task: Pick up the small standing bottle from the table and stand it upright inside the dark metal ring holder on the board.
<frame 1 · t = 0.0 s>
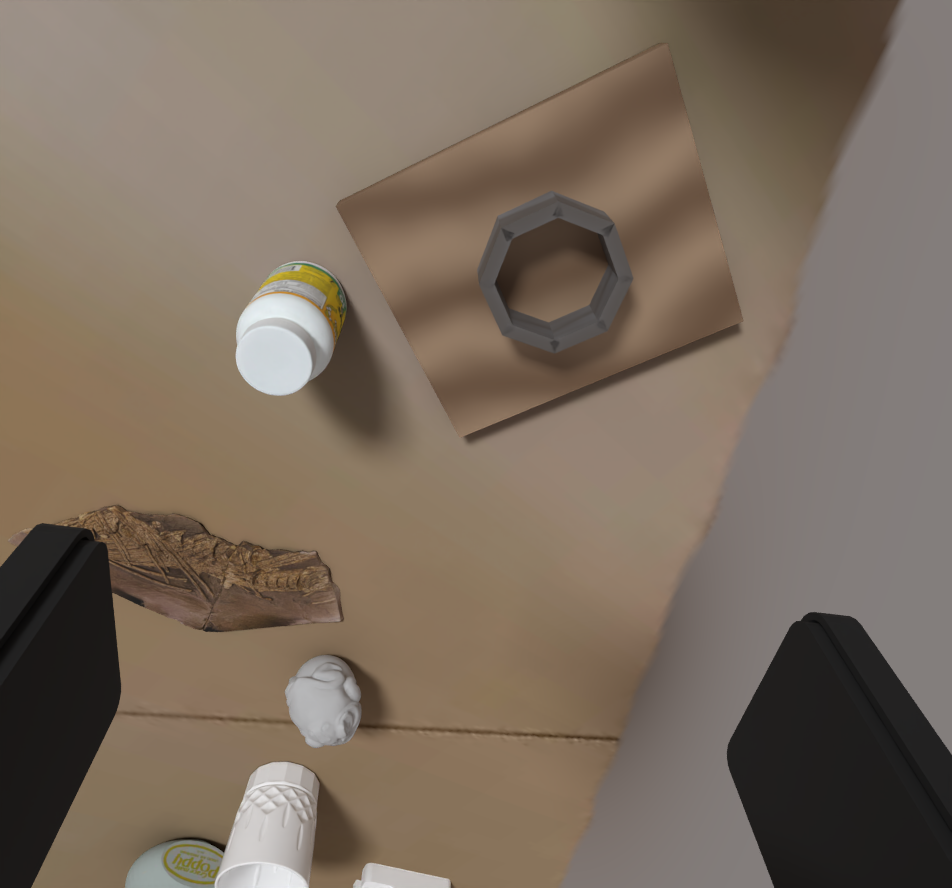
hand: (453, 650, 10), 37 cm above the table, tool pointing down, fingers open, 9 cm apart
air freshener: (192, 853, 75), on the table
wooden fragment: (186, 567, 57), on the table
cable organizer: (402, 881, 79), on the table
grey lumpy rounded piece: (330, 663, 62), on the table
holder: (546, 259, 45), on the table
white cup: (285, 780, 70), on the table
supplement bottle: (306, 300, 46), on the table
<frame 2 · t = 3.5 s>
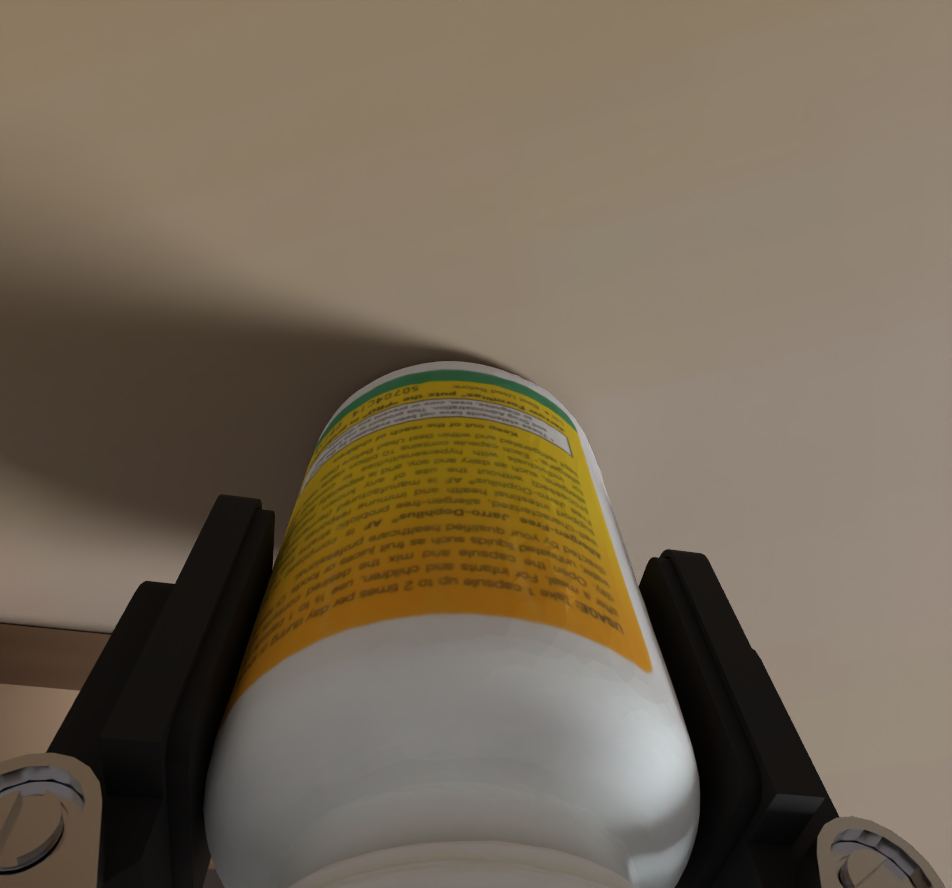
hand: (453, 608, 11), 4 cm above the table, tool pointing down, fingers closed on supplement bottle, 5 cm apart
supplement bottle: (452, 474, 14), on the table, touching gripper
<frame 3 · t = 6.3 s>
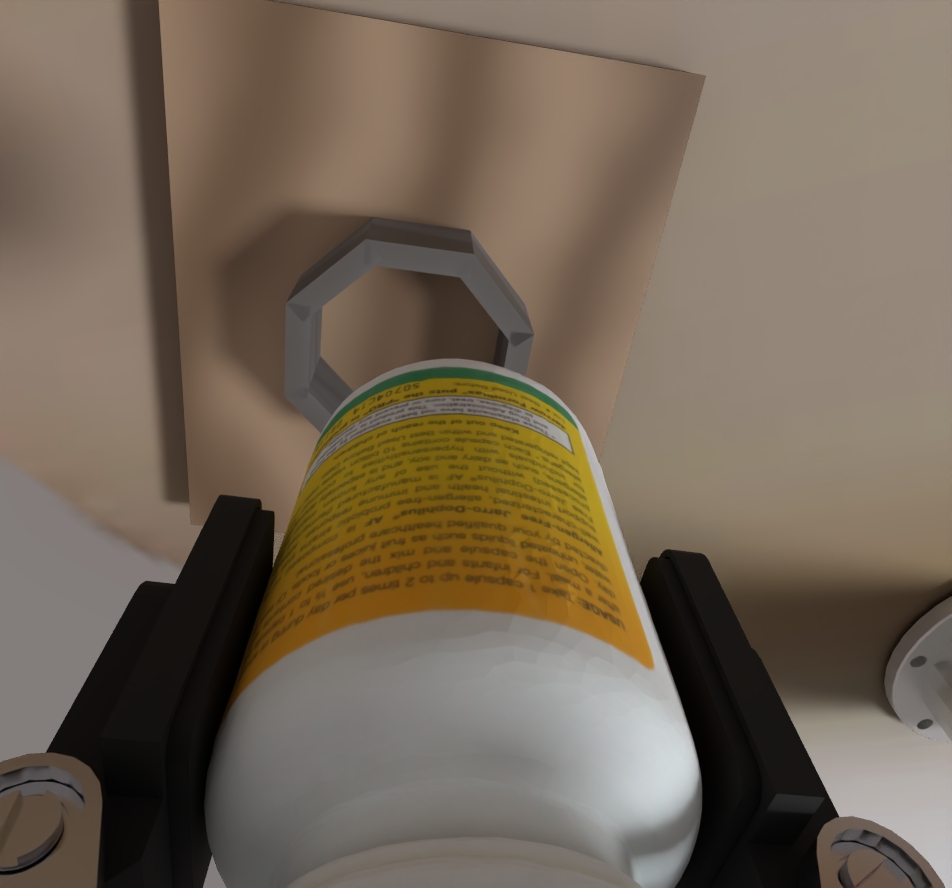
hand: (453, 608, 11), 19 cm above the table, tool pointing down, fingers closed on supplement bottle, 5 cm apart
holder: (411, 319, 28), on the table
supplement bottle: (452, 472, 14), point 15 cm above the table, touching gripper
when the fingers open (6 cm above the table, at t = 9.5 s): supplement bottle drops 1 cm, resting on holder.
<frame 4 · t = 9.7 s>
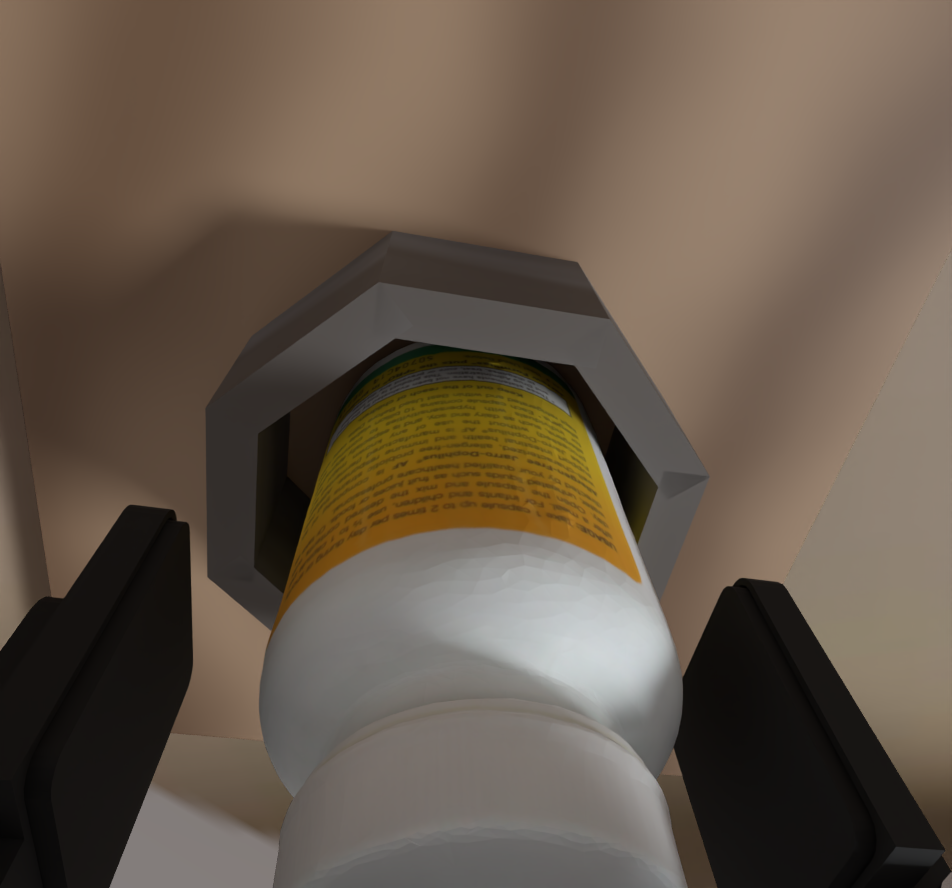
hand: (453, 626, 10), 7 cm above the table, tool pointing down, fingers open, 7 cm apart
holder: (450, 408, 16), on the table
supplement bottle: (460, 442, 15), point 1 cm above the table, touching holder
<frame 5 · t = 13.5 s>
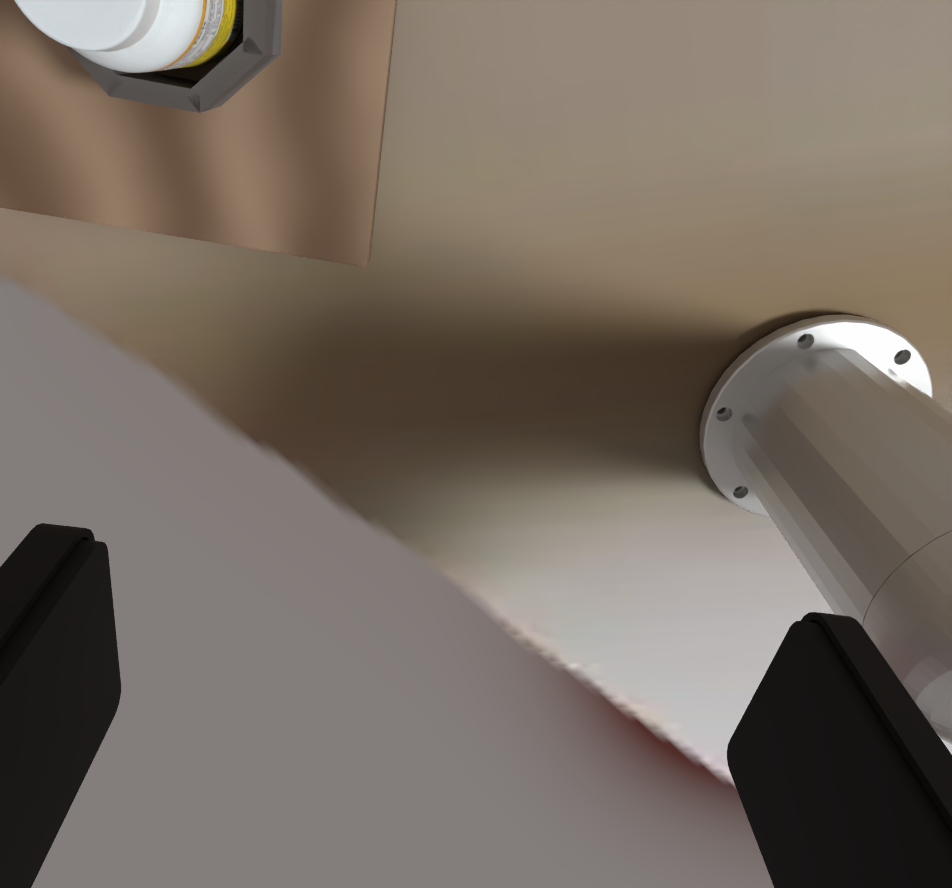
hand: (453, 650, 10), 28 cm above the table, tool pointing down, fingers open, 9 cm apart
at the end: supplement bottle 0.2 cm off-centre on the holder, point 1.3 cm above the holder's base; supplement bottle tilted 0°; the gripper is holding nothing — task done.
